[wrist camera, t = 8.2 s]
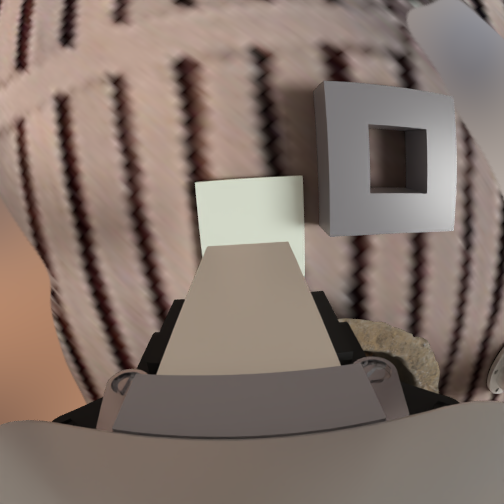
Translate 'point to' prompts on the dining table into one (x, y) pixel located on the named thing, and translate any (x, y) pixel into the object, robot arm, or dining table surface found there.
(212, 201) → the coaster
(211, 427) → the plug
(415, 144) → the grey square ring
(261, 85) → the dining table surface
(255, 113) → the dining table surface
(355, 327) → the stone bowl
